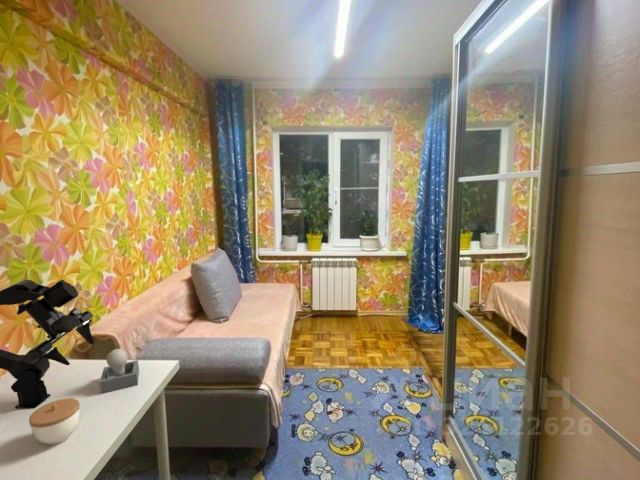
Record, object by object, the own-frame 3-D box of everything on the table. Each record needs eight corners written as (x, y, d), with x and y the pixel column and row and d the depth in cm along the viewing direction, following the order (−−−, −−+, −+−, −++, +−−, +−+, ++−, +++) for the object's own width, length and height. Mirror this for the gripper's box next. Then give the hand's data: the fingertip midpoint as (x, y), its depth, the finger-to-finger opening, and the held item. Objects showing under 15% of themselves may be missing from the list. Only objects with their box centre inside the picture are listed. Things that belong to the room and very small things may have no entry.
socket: (101, 393, 115) (99, 382, 114) (105, 378, 124) (104, 367, 124) (137, 385, 119) (136, 373, 118) (139, 370, 128) (137, 360, 128)
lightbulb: (127, 383, 118) (122, 352, 117) (107, 386, 117) (102, 355, 115) (133, 374, 124) (128, 344, 122) (114, 377, 123) (109, 346, 121)
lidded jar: (41, 430, 98) (34, 399, 97) (86, 418, 103) (81, 388, 101) (28, 457, 89) (21, 422, 87) (79, 443, 93) (73, 409, 91)
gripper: (29, 328, 98) (69, 370, 102) (85, 290, 114) (118, 328, 118) (11, 339, 103) (49, 378, 107) (67, 301, 119) (99, 336, 123)
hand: (81, 354), depth 114 cm, fingers open, 9 cm apart
